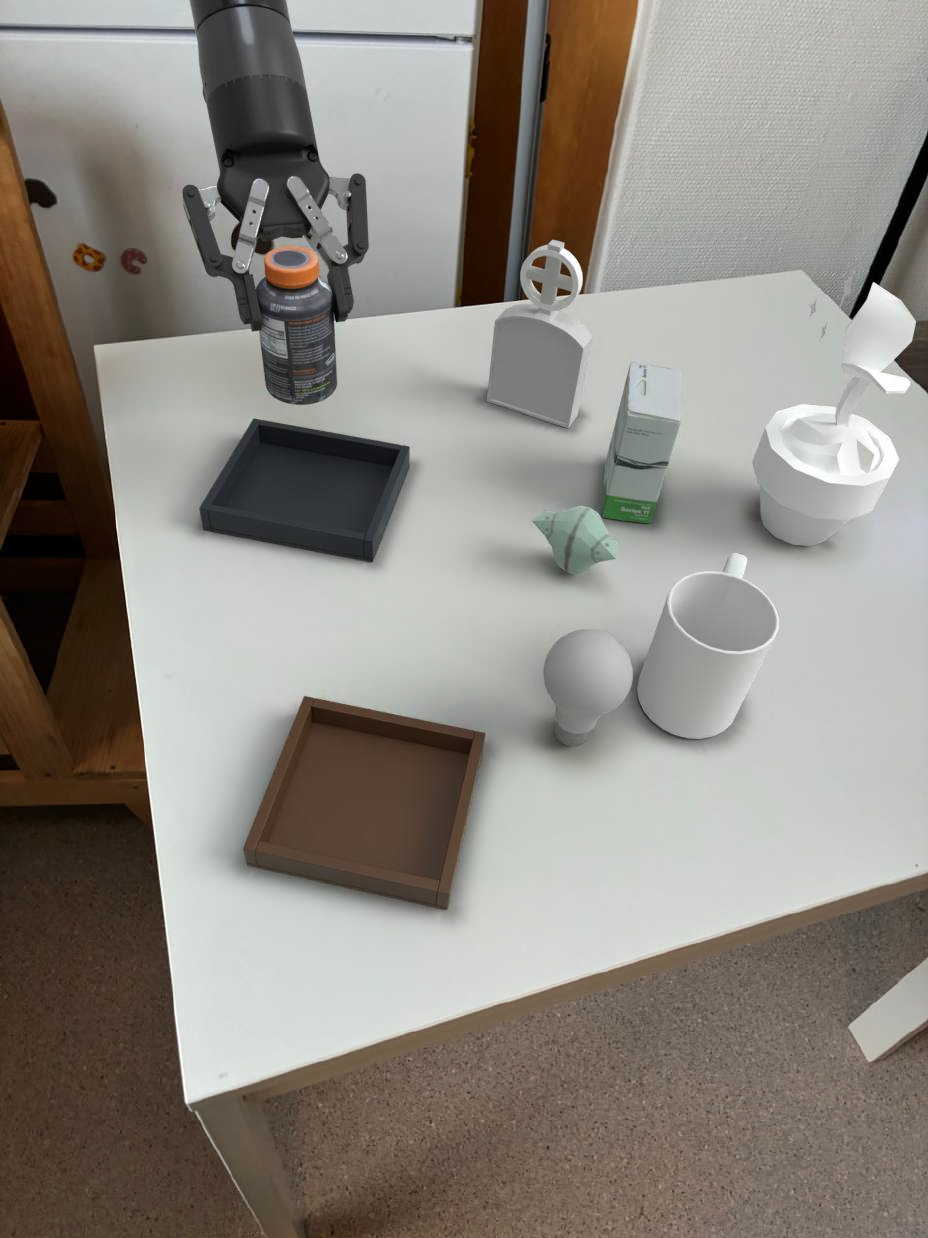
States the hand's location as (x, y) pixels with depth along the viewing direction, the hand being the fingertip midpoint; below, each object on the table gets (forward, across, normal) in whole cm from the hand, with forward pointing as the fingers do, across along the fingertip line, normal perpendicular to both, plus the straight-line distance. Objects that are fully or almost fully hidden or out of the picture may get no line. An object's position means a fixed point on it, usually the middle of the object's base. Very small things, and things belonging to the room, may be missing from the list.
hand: (300, 323), depth 69 cm
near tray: (+35, -3, -9) cm, 37 cm away
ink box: (+17, +30, +10) cm, 36 cm away
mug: (+33, +25, -6) cm, 42 cm away
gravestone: (+7, +26, +20) cm, 33 cm away
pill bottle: (+4, 0, +6) cm, 7 cm away
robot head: (+23, +20, +4) cm, 31 cm away
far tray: (+12, 0, +14) cm, 19 cm away
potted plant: (+23, +43, +4) cm, 49 cm away
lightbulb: (+35, +13, -8) cm, 38 cm away
